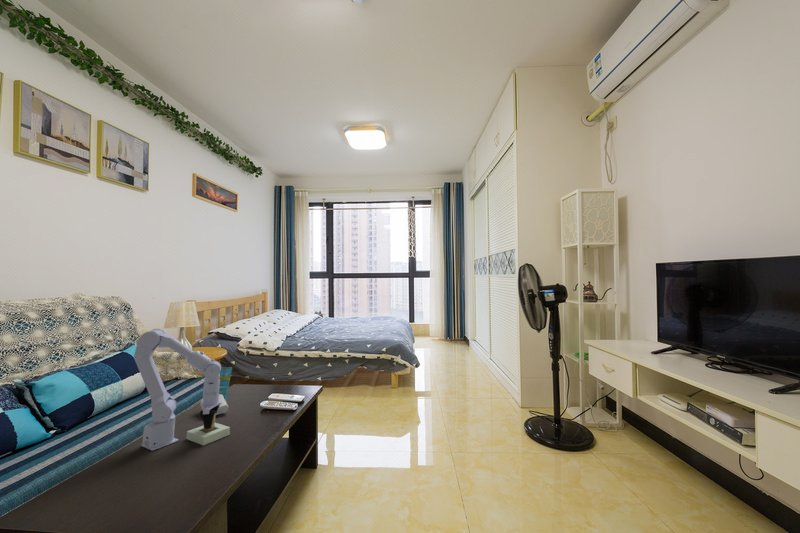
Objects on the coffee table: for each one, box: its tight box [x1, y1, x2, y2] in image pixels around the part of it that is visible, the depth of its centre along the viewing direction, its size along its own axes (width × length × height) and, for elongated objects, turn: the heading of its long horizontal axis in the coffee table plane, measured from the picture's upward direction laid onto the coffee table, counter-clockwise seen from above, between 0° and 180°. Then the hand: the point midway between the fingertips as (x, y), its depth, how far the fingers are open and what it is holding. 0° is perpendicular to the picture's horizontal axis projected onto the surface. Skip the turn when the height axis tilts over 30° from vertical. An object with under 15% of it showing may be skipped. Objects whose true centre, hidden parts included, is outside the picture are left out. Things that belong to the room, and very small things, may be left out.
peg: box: [203, 410, 217, 433], centre depth 134 cm, size 4×4×9 cm
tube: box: [219, 366, 233, 402], centre depth 169 cm, size 7×5×19 cm, turn 123°
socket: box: [186, 422, 231, 446], centre depth 134 cm, size 11×11×3 cm
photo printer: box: [199, 394, 229, 416], centre depth 159 cm, size 10×4×12 cm
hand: (209, 426), depth 134 cm, fingers closed on peg, 4 cm apart
